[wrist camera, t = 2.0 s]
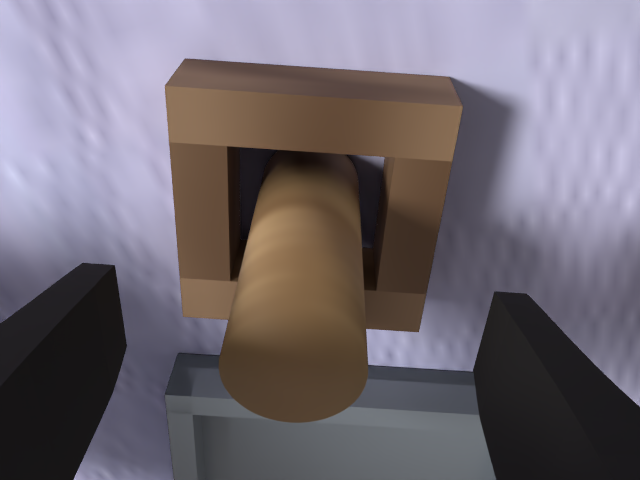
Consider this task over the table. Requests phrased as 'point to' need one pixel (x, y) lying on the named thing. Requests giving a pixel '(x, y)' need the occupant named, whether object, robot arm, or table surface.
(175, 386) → the tray
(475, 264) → the table surface
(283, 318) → the pin
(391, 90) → the socket
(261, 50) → the table surface
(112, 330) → the robot arm
